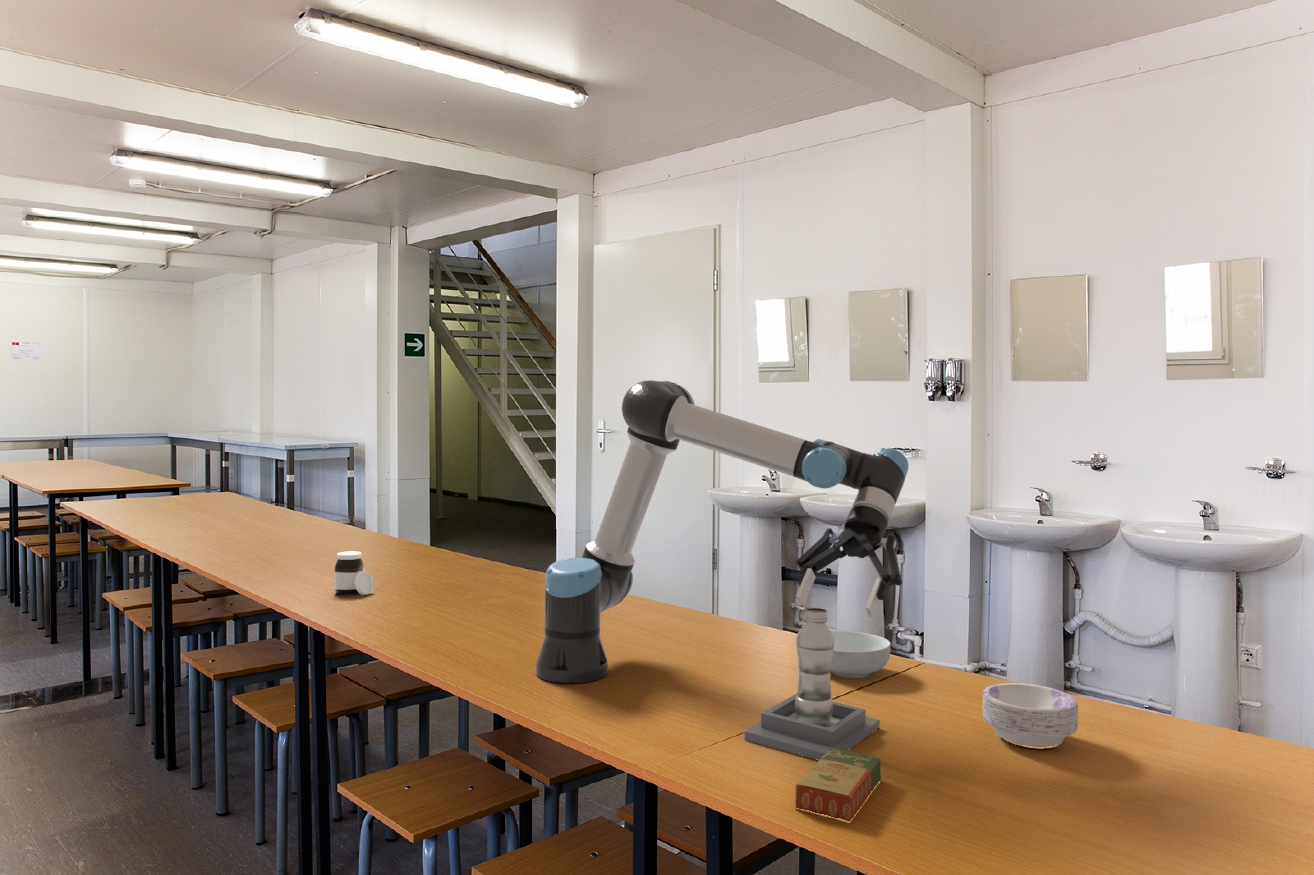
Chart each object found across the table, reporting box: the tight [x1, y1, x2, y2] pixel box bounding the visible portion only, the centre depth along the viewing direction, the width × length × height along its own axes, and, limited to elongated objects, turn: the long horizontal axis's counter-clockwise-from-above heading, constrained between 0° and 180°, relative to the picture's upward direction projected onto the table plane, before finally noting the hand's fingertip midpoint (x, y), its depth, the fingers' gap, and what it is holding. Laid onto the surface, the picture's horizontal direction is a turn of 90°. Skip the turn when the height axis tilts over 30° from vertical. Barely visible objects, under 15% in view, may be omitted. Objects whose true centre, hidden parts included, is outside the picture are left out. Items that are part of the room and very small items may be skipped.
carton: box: [794, 748, 882, 821], centre depth 126 cm, size 8×16×4 cm, turn 151°
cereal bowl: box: [830, 630, 892, 679], centre depth 185 cm, size 17×17×7 cm
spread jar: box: [333, 550, 375, 596], centre depth 254 cm, size 12×11×12 cm
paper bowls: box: [982, 682, 1079, 747], centre depth 149 cm, size 15×15×8 cm
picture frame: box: [744, 693, 881, 760], centre depth 150 cm, size 20×16×4 cm
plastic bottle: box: [795, 607, 834, 726], centre depth 149 cm, size 6×7×20 cm
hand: (833, 606), depth 155 cm, fingers open, 13 cm apart
